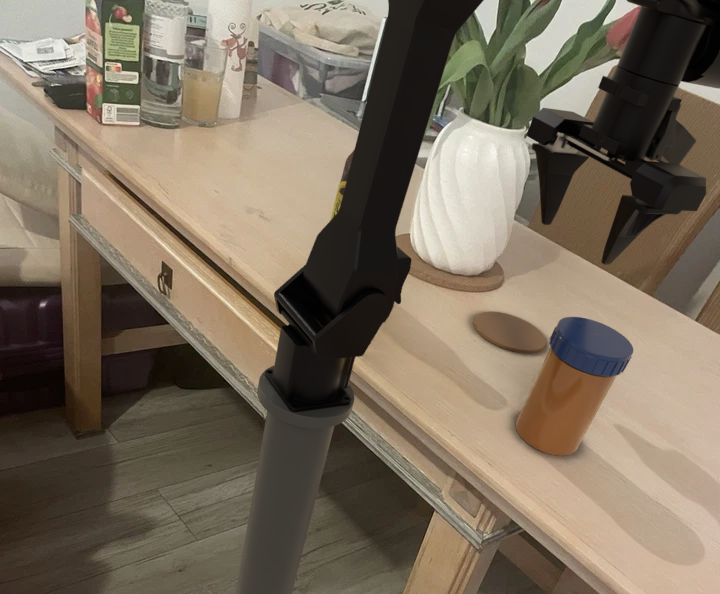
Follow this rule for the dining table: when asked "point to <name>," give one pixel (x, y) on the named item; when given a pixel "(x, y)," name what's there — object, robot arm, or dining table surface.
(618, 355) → the lid
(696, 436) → the dining table surface
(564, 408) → the jar
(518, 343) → the coaster
